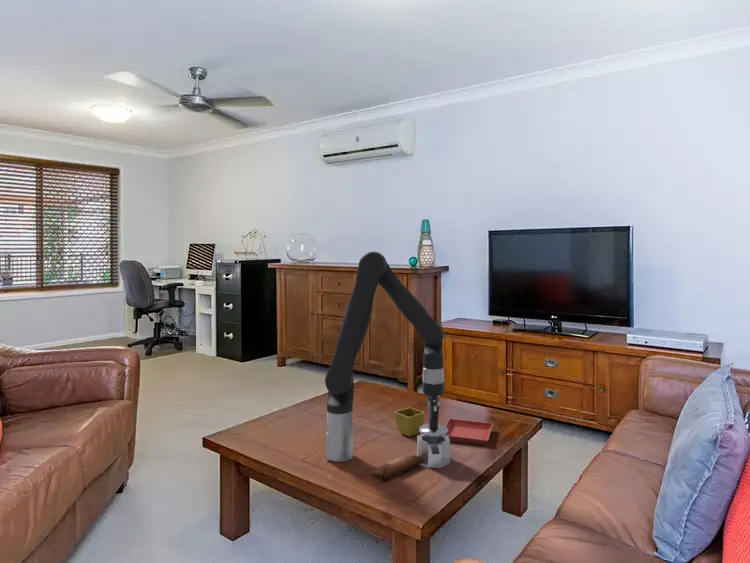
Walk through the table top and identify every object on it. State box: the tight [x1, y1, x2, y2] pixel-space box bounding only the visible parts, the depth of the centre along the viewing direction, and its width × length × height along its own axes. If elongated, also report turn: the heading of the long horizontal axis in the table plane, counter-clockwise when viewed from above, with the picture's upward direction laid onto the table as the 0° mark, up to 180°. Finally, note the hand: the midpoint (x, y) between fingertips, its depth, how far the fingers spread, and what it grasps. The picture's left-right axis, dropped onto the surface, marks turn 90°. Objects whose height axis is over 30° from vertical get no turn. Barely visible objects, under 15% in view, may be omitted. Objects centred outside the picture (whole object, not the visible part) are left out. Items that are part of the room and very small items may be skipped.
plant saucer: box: [445, 418, 494, 446], centre depth 199 cm, size 18×18×3 cm
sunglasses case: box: [368, 454, 421, 483], centre depth 169 cm, size 18×7×7 cm
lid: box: [419, 413, 448, 439], centre depth 175 cm, size 10×10×8 cm
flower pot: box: [394, 406, 425, 437], centre depth 201 cm, size 9×9×9 cm
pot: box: [416, 433, 451, 469], centre depth 176 cm, size 11×17×8 cm, turn 179°
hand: (433, 428), depth 175 cm, fingers closed on lid, 3 cm apart
